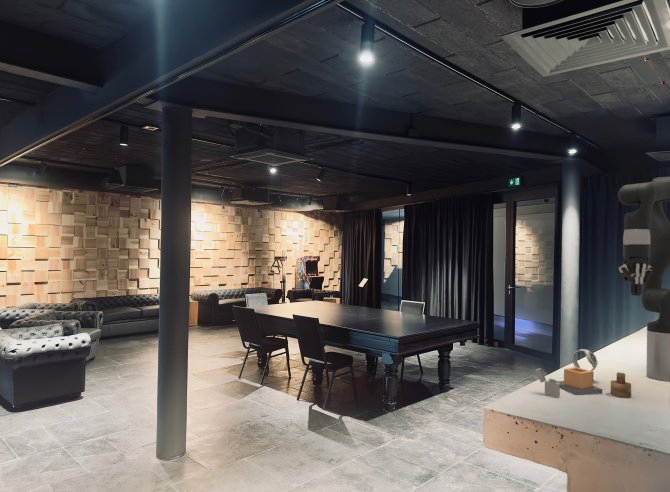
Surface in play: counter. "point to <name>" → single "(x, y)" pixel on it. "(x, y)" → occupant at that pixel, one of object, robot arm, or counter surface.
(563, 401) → the counter surface
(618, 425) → the counter surface
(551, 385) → the lighter
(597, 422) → the counter surface
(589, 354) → the watch
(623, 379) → the stand
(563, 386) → the gray square plate
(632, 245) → the robot arm
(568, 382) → the orange square tube
